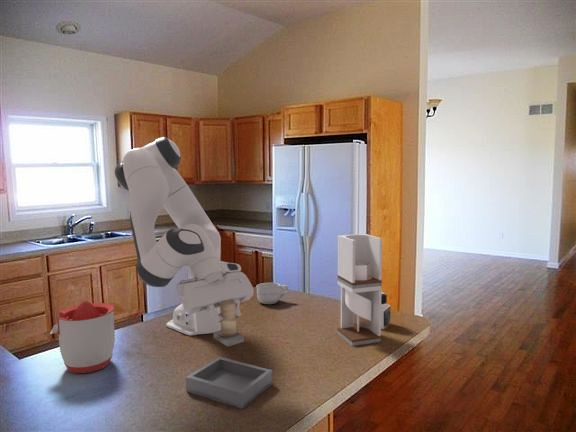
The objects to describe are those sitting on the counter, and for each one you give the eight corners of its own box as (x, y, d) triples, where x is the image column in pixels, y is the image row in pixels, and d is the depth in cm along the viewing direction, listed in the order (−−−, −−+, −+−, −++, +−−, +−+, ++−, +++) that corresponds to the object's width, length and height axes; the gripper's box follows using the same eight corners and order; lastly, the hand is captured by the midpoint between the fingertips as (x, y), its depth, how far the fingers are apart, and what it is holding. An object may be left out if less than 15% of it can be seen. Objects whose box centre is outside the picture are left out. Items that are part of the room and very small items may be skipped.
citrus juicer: (55, 361, 134) (51, 297, 132) (116, 351, 141) (112, 290, 139) (50, 383, 120) (45, 313, 118) (118, 371, 127) (114, 304, 125)
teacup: (254, 305, 186) (253, 287, 186) (259, 298, 197) (259, 280, 196) (286, 307, 184) (286, 288, 183) (290, 299, 195) (290, 281, 194)
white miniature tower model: (337, 333, 154) (337, 235, 150) (364, 329, 157) (365, 233, 153) (352, 345, 143) (352, 240, 139) (380, 341, 146) (382, 238, 143)
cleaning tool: (213, 338, 116) (212, 302, 115) (229, 333, 119) (228, 298, 118) (227, 346, 111) (226, 308, 110) (244, 341, 114) (243, 304, 113)
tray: (186, 391, 115) (185, 376, 115) (219, 369, 127) (219, 356, 127) (242, 409, 106) (241, 393, 106) (272, 384, 118) (272, 370, 118)
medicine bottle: (383, 329, 157) (384, 297, 156) (365, 326, 161) (365, 294, 160) (390, 323, 163) (391, 292, 162) (372, 320, 167) (372, 289, 166)
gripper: (177, 275, 112) (197, 322, 106) (244, 263, 125) (265, 304, 118) (171, 288, 116) (189, 334, 109) (236, 275, 129) (256, 316, 122)
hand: (229, 318), depth 114 cm, fingers closed on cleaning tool, 4 cm apart
